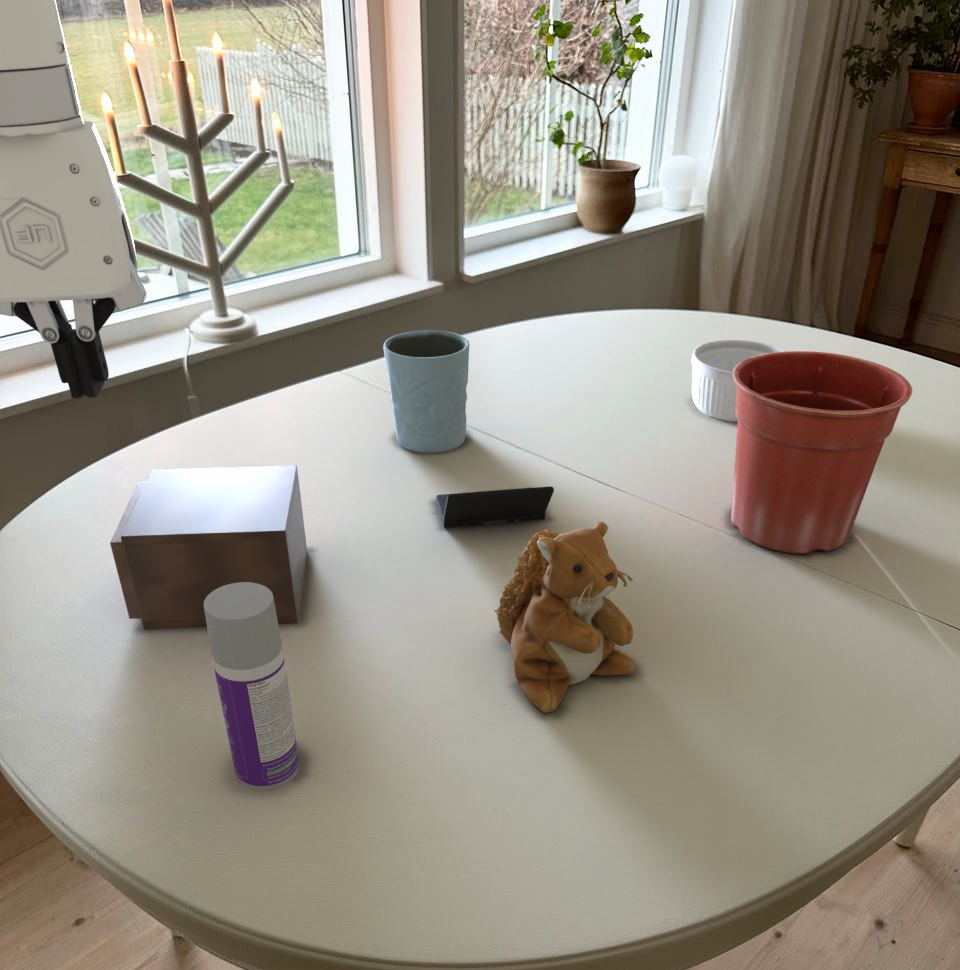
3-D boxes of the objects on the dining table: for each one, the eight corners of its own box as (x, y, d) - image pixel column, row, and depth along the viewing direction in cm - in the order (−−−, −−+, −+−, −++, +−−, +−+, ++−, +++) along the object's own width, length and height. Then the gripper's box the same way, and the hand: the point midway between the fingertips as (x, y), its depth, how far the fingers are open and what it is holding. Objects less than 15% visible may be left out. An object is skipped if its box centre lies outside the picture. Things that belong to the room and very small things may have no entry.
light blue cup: (452, 461, 113) (450, 362, 106) (374, 448, 116) (368, 351, 109) (481, 428, 121) (481, 334, 114) (408, 417, 124) (404, 324, 117)
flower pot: (685, 498, 106) (706, 355, 96) (821, 484, 108) (854, 344, 99) (749, 575, 93) (780, 419, 83) (902, 558, 95) (949, 404, 86)
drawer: (115, 619, 85) (95, 543, 80) (142, 553, 94) (125, 482, 89) (271, 613, 86) (260, 537, 81) (282, 548, 95) (273, 477, 90)
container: (223, 767, 71) (188, 598, 62) (277, 738, 73) (250, 573, 64) (257, 801, 68) (225, 629, 59) (312, 770, 70) (289, 601, 62)
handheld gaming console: (524, 472, 107) (538, 429, 97) (547, 529, 105) (563, 492, 96) (427, 501, 105) (431, 460, 95) (448, 560, 103) (455, 524, 94)
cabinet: (143, 630, 85) (120, 536, 79) (169, 557, 95) (150, 469, 89) (298, 624, 86) (285, 530, 80) (307, 552, 96) (297, 465, 90)
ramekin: (805, 406, 127) (816, 354, 123) (756, 436, 119) (766, 383, 115) (717, 381, 134) (724, 332, 130) (666, 409, 126) (672, 357, 122)
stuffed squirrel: (547, 723, 75) (555, 581, 67) (463, 632, 85) (462, 499, 77) (649, 685, 79) (669, 547, 71) (557, 602, 89) (565, 473, 81)
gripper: (-141, 113, 54) (-36, 417, 65) (126, 106, 56) (187, 405, 66) (-92, 97, 61) (-3, 377, 71) (149, 91, 62) (201, 367, 72)
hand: (88, 390), depth 69 cm, fingers closed
